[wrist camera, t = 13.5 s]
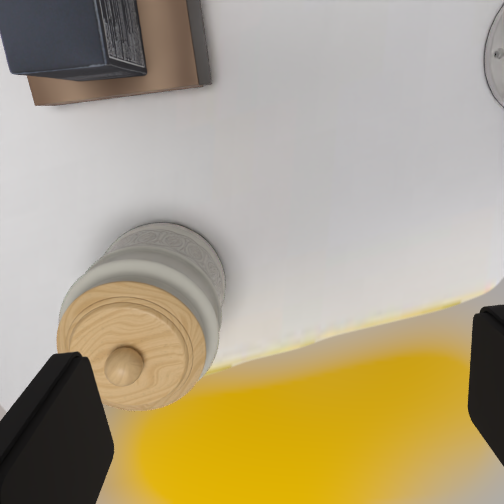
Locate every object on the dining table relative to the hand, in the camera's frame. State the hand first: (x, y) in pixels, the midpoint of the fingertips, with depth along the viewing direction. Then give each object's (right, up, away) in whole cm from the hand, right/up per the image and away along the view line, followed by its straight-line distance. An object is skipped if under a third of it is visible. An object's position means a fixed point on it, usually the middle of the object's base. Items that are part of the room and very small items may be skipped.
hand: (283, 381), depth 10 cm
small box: (-13, +23, +23) cm, 35 cm away
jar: (-10, 0, +35) cm, 37 cm away
